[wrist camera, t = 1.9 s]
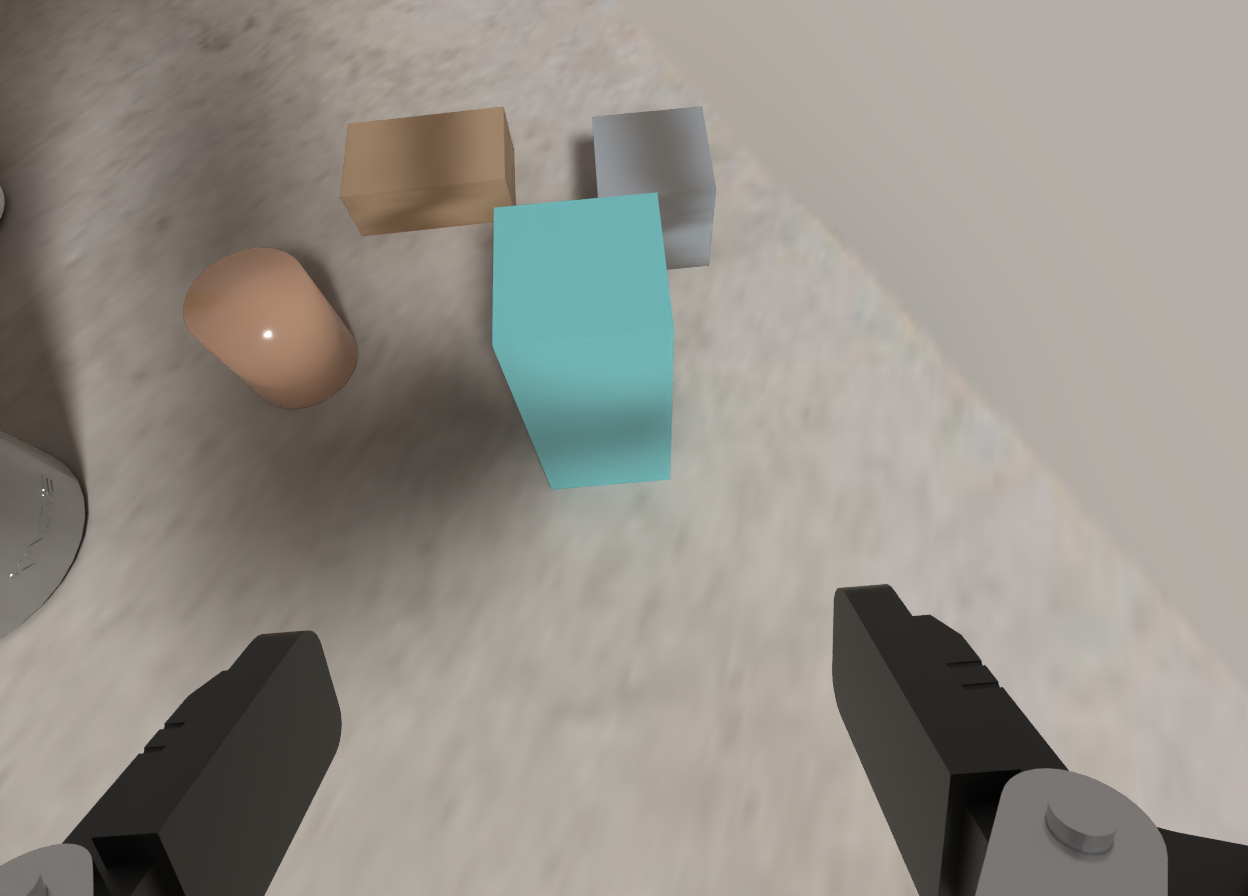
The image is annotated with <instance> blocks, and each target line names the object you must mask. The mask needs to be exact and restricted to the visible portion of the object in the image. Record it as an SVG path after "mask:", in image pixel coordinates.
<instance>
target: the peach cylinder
mask: <svg viewBox="0 0 1248 896" xmlns="http://www.w3.org/2000/svg"><path fill="white" fill-rule="evenodd" d="M183 316H184V321H185V324H186V327H187V328H188V330H189V332H190V333H191V334H192V335H193V336H194V337H195V338H196V339H197V340H198V341H199V342H201V343H202V344H203V345H204V346H205V347H206V348H207V349H208V350H209V351H211V352H212V353H213V354H214V355H215V356H216V357H217V358H218V359H219V360H221V361H222V362H223V363H224V364H225V365H226V366H227V367H228V368H229V369H231V370H232V371H233V372H234V373H235V374H236V375H237V376H238V377H239V378H241V379H242V380H243V381H244V382H245V383H246V384H247V385H248V386H250V387H251V388H252V389H253V390H254V391H255V392H256V393H257V394H258V395H260V396H261V397H262V398H263V399H264V400H265V401H267V402H268V403H270V404H272V405H274V406H277V407H281V408H287V409H299V408H305V407H309V406H313V405H315V404H318V403H320V402H322V401H324V400H326V399H328V398H329V397H331V396H333V395H334V394H335V393H336V392H338V391H339V390H340V389H341V388H342V387H343V386H344V385H345V383H346V382H347V381H348V379H349V378H350V376H351V375H352V373H353V371H354V369H355V366H356V362H357V357H358V350H357V344H356V341H355V339H354V337H353V335H352V334H351V332H350V331H349V329H348V328H347V327H346V325H345V324H344V323H343V321H342V320H341V319H340V317H339V316H338V315H337V313H336V312H335V310H334V309H333V308H332V306H331V305H330V304H329V302H328V301H327V300H326V298H325V297H324V296H323V294H322V293H321V292H320V290H319V289H318V287H317V286H316V285H315V283H314V282H313V281H312V279H311V278H310V277H309V275H308V274H307V273H306V271H305V270H304V268H303V267H302V266H301V264H300V263H299V262H298V261H297V260H296V259H295V258H294V257H293V256H291V255H290V254H288V253H286V252H284V251H281V250H278V249H273V248H264V247H261V248H250V249H245V250H241V251H238V252H235V253H232V254H230V255H227V256H225V257H223V258H222V259H220V260H218V261H216V262H215V263H213V264H212V265H211V266H209V267H208V268H207V269H206V270H205V271H203V272H202V273H201V274H200V276H199V277H198V278H197V279H196V280H195V282H194V283H193V284H192V286H191V288H190V289H189V291H188V293H187V296H186V299H185V302H184V307H183Z"/></svg>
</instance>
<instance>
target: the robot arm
mask: <svg viewBox="0 0 1248 896" xmlns="http://www.w3.org/2000/svg"><path fill="white" fill-rule="evenodd" d="M84 521H85V508H84V497H83V494H82V491H81V488H80V485H79V482H78V480H77V479H76V477H75V476H74V475H73V473H72V472H71V471H70V469H69V468H68V467H67V466H66V465H64V464H63V463H62V462H60V461H59V460H58V459H56V458H55V457H53V456H51V455H49V454H47V453H45V452H43V451H41V450H39V449H37V448H35V447H33V446H31V445H29V444H27V443H25V442H23V441H21V440H19V439H16V438H14V437H12V436H10V435H8V434H6V433H4V432H2V431H0V638H2V637H3V636H5V635H6V634H8V633H9V632H11V631H12V630H14V629H15V628H17V627H18V626H20V625H21V624H22V623H23V622H24V621H25V620H27V619H28V618H29V617H30V616H31V615H32V614H33V613H34V612H35V611H36V610H38V609H39V608H40V607H41V606H42V605H43V604H44V602H45V601H46V600H47V599H48V598H49V596H50V595H51V594H52V593H53V591H54V590H55V589H56V588H57V587H58V585H59V584H60V582H61V581H62V579H63V577H64V576H65V574H66V572H67V571H68V569H69V567H70V565H71V564H72V562H73V560H74V557H75V555H76V552H77V549H78V547H79V544H80V541H81V539H82V533H83V527H84ZM832 676H833V686H834V692H835V698H836V702H837V706H838V709H839V712H840V715H841V717H842V719H843V722H844V724H845V726H846V729H847V731H848V733H849V735H850V738H851V740H852V742H853V745H854V747H855V749H856V752H857V754H858V756H859V758H860V761H861V763H862V765H863V768H864V770H865V772H866V774H867V777H868V779H869V781H870V784H871V786H872V788H873V791H874V793H875V795H876V797H877V800H878V802H879V804H880V807H881V809H882V811H883V813H884V816H885V818H886V820H887V823H888V825H889V827H890V829H891V832H892V834H893V836H894V839H895V841H896V843H897V846H898V848H899V850H900V852H901V855H902V857H903V859H904V862H905V864H906V866H907V868H908V871H909V873H910V875H911V878H912V880H913V882H914V885H915V887H916V889H917V891H918V894H919V896H1248V846H1247V845H1241V844H1236V843H1231V842H1226V841H1220V840H1215V839H1210V838H1204V837H1199V836H1194V835H1189V834H1183V833H1178V832H1174V831H1170V830H1166V829H1162V828H1159V827H1156V825H1155V824H1154V823H1153V822H1152V820H1151V819H1150V818H1149V817H1148V816H1147V815H1146V814H1145V813H1144V812H1143V811H1142V810H1141V809H1140V808H1139V807H1138V806H1137V805H1136V804H1135V803H1133V802H1132V801H1131V800H1130V799H1128V798H1127V797H1126V796H1124V795H1123V794H1121V793H1120V792H1118V791H1116V790H1115V789H1113V788H1111V787H1109V786H1108V785H1106V784H1104V783H1102V782H1100V781H1097V780H1095V779H1092V778H1090V777H1088V776H1085V775H1081V774H1078V773H1075V772H1071V771H1069V770H1068V769H1067V768H1066V766H1065V765H1064V764H1063V763H1062V761H1061V760H1060V759H1059V758H1058V756H1057V755H1056V754H1055V753H1054V751H1053V750H1052V749H1051V747H1050V746H1049V745H1048V744H1047V742H1046V741H1045V740H1044V739H1043V737H1042V736H1041V735H1040V734H1039V732H1038V731H1037V730H1036V729H1035V727H1034V726H1033V725H1032V724H1031V722H1030V721H1029V720H1028V718H1027V717H1026V716H1025V715H1024V713H1023V712H1022V711H1021V710H1020V708H1019V707H1018V706H1017V705H1016V703H1015V702H1014V701H1013V700H1012V698H1011V697H1010V696H1009V694H1008V693H1007V692H1006V691H1005V689H1004V688H1003V687H999V684H998V681H997V679H996V678H995V677H994V676H993V674H992V673H991V672H990V671H989V669H988V668H987V667H986V665H984V666H983V665H982V662H981V659H980V658H979V657H978V655H977V654H976V653H975V652H974V650H973V649H972V648H971V647H970V645H969V644H968V643H967V641H966V640H965V639H964V638H963V636H962V635H961V634H959V633H958V632H956V631H954V630H953V629H951V628H950V627H948V626H947V625H945V624H944V623H942V622H941V621H939V620H938V619H936V618H934V617H933V616H931V615H921V616H912V615H911V613H910V612H909V611H908V609H907V608H906V606H905V605H904V604H903V602H902V601H901V599H900V598H899V597H898V595H897V594H896V592H895V591H894V590H893V588H892V587H891V586H890V585H888V584H882V585H870V586H858V587H846V588H838V589H837V590H836V592H835V596H834V617H833V660H832ZM341 725H342V721H341V711H340V707H339V704H338V700H337V697H336V693H335V690H334V686H333V683H332V680H331V676H330V673H329V669H328V666H327V662H326V659H325V656H324V652H323V649H322V645H321V642H320V640H319V638H318V636H317V635H316V634H315V633H314V632H313V631H296V632H284V633H272V634H261V635H259V636H257V637H256V638H255V639H254V640H253V641H252V642H251V643H250V644H249V645H248V647H247V648H246V649H245V650H244V651H243V653H242V654H241V655H240V656H239V658H238V659H237V660H236V661H235V662H234V664H233V665H232V666H231V667H230V669H229V670H228V671H222V672H220V673H219V674H218V675H216V676H215V677H213V678H212V679H211V680H209V681H208V682H207V683H205V684H204V685H203V686H201V687H200V688H198V689H197V690H196V691H194V692H193V693H192V694H190V695H189V696H188V697H187V698H186V699H185V700H184V702H183V703H182V704H181V705H180V706H179V707H178V709H177V710H176V711H175V712H174V713H173V714H172V716H171V717H170V718H169V719H168V720H167V721H166V723H165V727H164V729H161V730H159V731H158V732H157V733H156V734H155V735H154V737H153V738H152V739H151V740H150V741H149V742H148V744H147V745H146V746H145V747H144V753H143V754H138V755H137V757H136V758H135V759H134V760H133V761H132V762H131V764H130V765H129V766H128V767H127V768H126V769H125V771H124V772H123V773H122V774H121V775H120V776H119V778H118V779H117V780H116V781H115V782H114V783H113V785H112V786H111V787H110V788H109V789H108V790H107V792H106V793H105V794H104V795H103V796H102V797H101V799H100V800H99V801H98V802H97V803H96V804H95V806H94V807H93V808H92V809H91V810H90V811H89V813H88V814H87V815H86V816H85V817H84V818H83V820H82V821H81V822H80V823H79V824H78V825H77V827H76V828H75V829H74V830H73V831H72V832H71V834H70V835H69V836H68V837H67V838H66V839H65V841H64V842H63V843H62V844H57V845H51V846H47V847H43V848H40V849H37V850H34V851H31V852H28V853H26V854H23V855H21V856H19V857H17V858H14V859H13V860H11V861H9V862H7V863H5V864H3V865H1V866H0V896H264V895H265V893H266V891H267V889H268V887H269V885H270V883H271V881H272V879H273V877H274V875H275V873H276V871H277V869H278V867H279V865H280V863H281V861H282V859H283V857H284V855H285V853H286V851H287V849H288V847H289V845H290V843H291V842H292V840H293V838H294V836H295V834H296V832H297V830H298V828H299V826H300V824H301V822H302V820H303V818H304V816H305V814H306V812H307V810H308V808H309V806H310V804H311V802H312V800H313V798H314V796H315V794H316V792H317V790H318V788H319V786H320V784H321V782H322V780H323V778H324V776H325V774H326V772H327V770H328V768H329V766H330V764H331V762H332V760H333V758H334V756H335V754H336V751H337V749H338V746H339V742H340V736H341Z"/></svg>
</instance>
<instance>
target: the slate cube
mask: <svg viewBox="0 0 1248 896" xmlns="http://www.w3.org/2000/svg"><path fill="white" fill-rule="evenodd" d="M592 122H593V136H594V150H595V163H596V177H597V191H598V198H603V197H614V196H625V195H635V194H646V193H657V194H658V202H659V211H660V219H661V227H662V235H663V243H664V251H665V260H666V268H667V269H678V268H689V267H700V266H709V259H710V248H711V238H712V227H713V216H714V206H715V195H716V185H715V179H714V174H713V168H712V162H711V156H710V150H709V144H708V139H707V133H706V127H705V121H704V115H703V109H702V106H701V107H691V108H680V109H670V110H660V111H649V112H639V113H628V114H618V115H607V116H597V117H592Z"/></svg>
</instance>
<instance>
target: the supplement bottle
mask: <svg viewBox="0 0 1248 896" xmlns="http://www.w3.org/2000/svg"><path fill="white" fill-rule="evenodd" d="M4 206H5V198H4V193H3V190H2V188H1V186H0V219H1V217H2V214H3V211H4Z"/></svg>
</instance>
